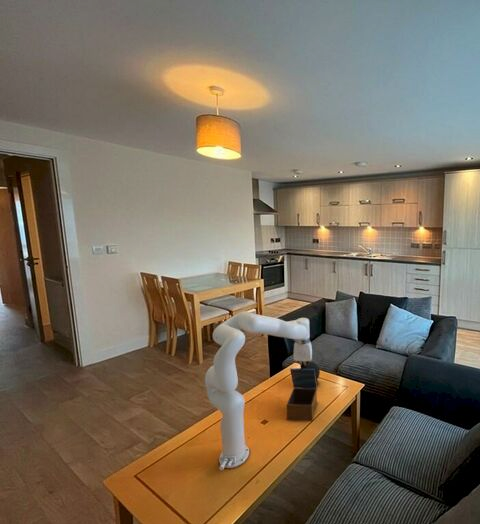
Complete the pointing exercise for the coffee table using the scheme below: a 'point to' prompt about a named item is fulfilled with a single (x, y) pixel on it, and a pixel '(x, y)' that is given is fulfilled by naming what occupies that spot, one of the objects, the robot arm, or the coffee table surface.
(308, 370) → the blue-grey square panel
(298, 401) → the brown box
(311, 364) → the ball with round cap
